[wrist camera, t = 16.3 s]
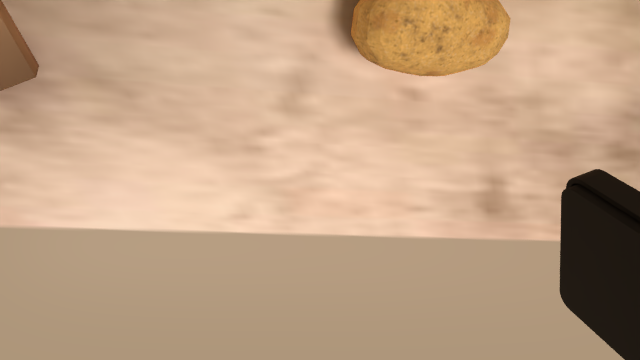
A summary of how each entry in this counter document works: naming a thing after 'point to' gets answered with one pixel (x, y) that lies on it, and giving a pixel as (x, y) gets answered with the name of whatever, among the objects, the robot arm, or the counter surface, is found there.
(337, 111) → the counter surface
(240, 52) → the counter surface
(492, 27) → the potato
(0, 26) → the walnut block
